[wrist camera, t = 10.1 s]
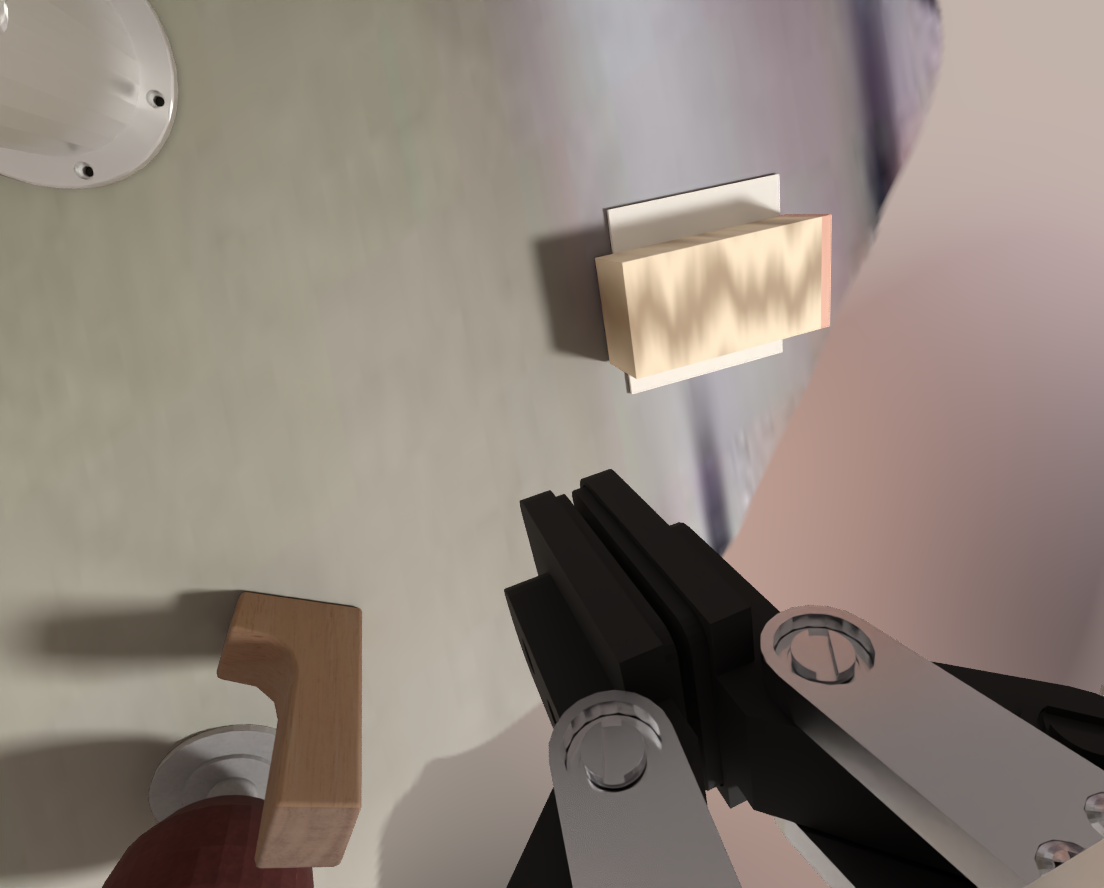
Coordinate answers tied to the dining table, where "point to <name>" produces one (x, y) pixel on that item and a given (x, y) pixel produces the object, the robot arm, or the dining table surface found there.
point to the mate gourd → (208, 817)
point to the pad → (688, 219)
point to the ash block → (715, 292)
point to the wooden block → (303, 721)
